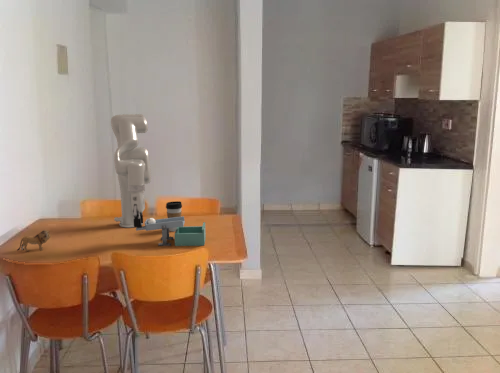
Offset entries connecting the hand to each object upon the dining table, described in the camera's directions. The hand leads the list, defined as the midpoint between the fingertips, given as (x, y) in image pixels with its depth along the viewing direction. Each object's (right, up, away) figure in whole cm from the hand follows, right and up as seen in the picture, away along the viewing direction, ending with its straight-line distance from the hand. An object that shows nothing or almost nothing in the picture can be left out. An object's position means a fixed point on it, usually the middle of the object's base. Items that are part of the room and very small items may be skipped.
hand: (138, 224), depth 230 cm
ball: (+6, +1, 0) cm, 6 cm away
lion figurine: (-47, -11, -7) cm, 49 cm away
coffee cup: (+14, -5, +22) cm, 27 cm away
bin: (+25, -9, +3) cm, 26 cm away
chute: (+10, -1, +1) cm, 11 cm away
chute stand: (+13, -9, +2) cm, 16 cm away
